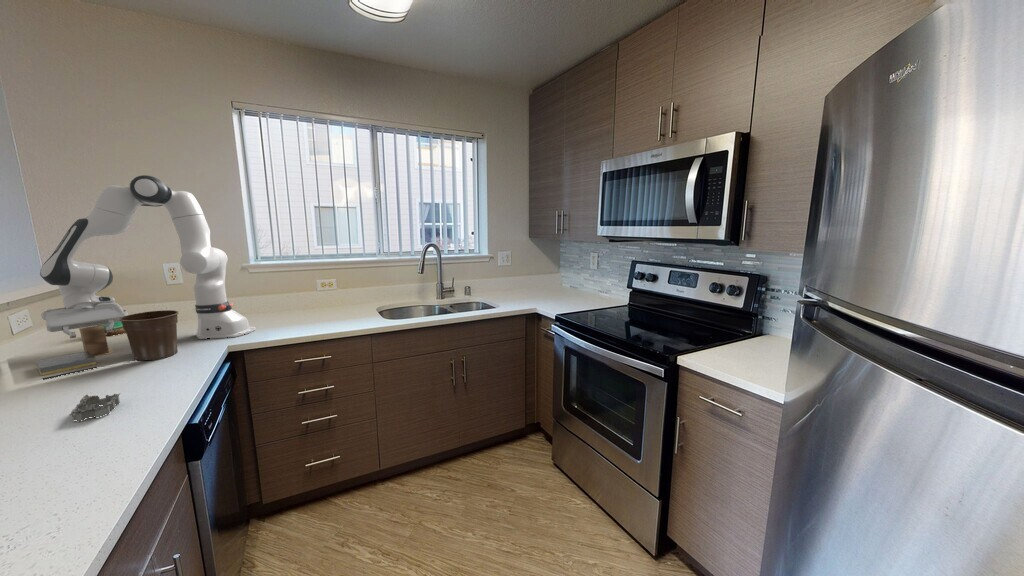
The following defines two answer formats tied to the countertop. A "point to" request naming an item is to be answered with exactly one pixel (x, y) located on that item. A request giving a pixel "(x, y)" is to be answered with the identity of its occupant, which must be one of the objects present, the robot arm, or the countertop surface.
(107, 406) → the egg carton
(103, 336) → the crate
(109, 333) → the food container
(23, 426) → the countertop surface
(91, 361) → the dock
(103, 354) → the pallet
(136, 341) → the plant pot
